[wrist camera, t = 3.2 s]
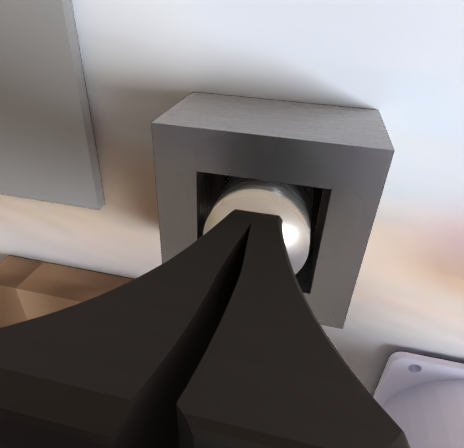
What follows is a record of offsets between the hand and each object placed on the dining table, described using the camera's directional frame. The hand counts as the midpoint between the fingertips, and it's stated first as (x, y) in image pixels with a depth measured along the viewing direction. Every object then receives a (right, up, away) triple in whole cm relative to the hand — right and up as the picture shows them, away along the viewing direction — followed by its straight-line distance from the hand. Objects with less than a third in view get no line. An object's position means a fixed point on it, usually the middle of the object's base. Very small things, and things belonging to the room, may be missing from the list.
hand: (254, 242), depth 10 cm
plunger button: (+1, +2, +2) cm, 3 cm away
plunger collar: (+1, +2, +3) cm, 4 cm away
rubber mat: (-10, +5, +4) cm, 12 cm away
